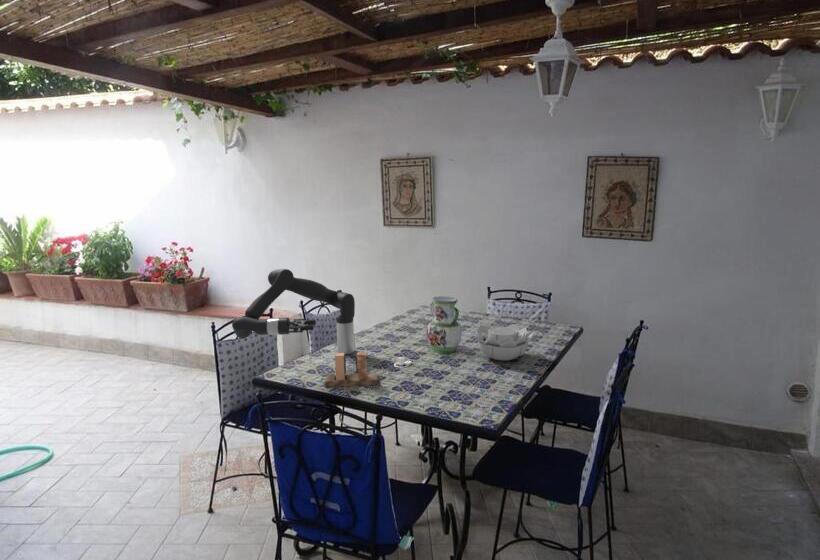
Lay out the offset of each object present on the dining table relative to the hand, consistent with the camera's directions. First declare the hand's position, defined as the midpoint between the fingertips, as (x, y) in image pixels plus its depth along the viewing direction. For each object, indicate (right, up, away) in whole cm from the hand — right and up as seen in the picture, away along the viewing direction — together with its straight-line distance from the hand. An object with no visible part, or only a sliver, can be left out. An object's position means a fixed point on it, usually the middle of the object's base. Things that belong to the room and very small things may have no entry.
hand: (314, 324), depth 237 cm
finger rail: (+16, -27, +6) cm, 33 cm away
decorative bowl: (+93, -21, +38) cm, 102 cm away
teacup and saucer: (+41, -24, +27) cm, 55 cm away
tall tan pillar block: (+11, -28, +6) cm, 30 cm away
